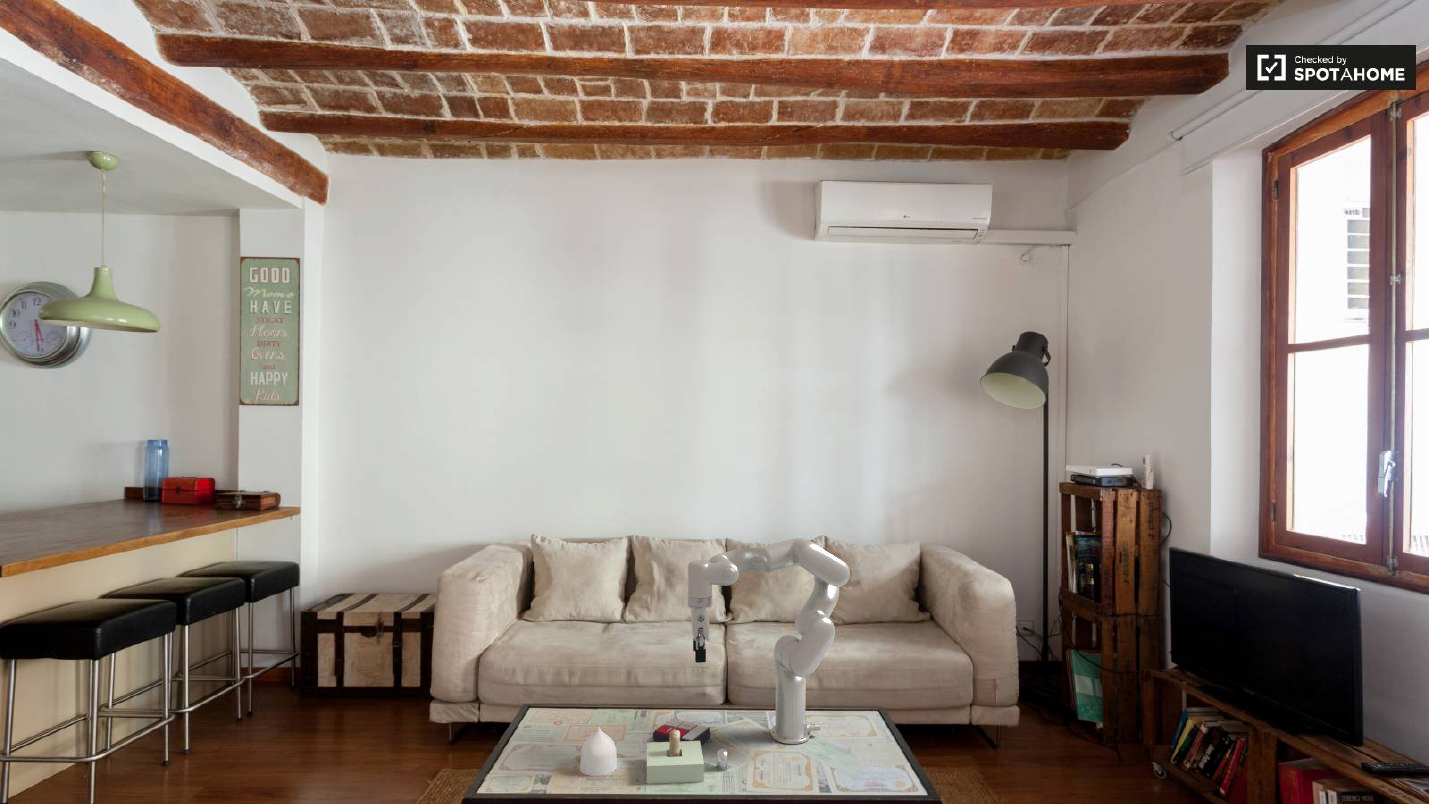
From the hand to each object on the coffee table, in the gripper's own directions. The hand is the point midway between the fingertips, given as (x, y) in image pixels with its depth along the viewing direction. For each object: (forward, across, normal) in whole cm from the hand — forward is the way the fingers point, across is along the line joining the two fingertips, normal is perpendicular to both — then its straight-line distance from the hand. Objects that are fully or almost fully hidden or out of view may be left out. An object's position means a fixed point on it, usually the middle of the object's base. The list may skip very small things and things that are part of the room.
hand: (699, 656), depth 226 cm
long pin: (+28, -13, +8) cm, 32 cm away
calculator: (+29, +6, +5) cm, 30 cm away
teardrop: (+29, -9, +30) cm, 42 cm away
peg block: (+28, -13, +8) cm, 32 cm away
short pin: (+28, -13, -6) cm, 32 cm away
